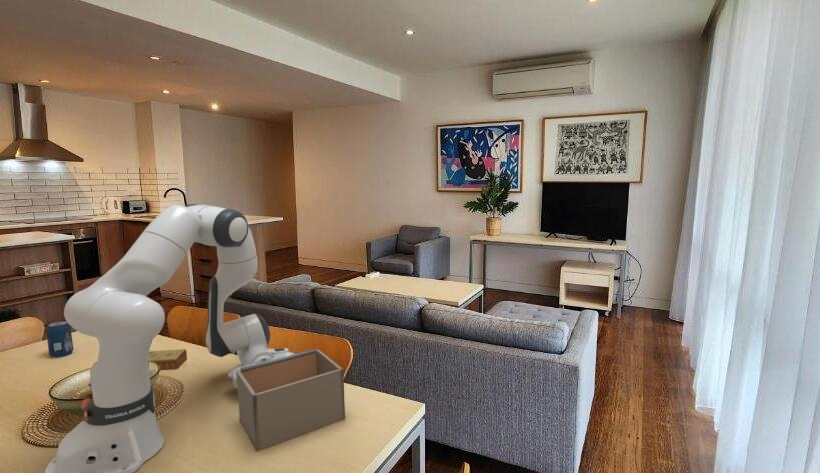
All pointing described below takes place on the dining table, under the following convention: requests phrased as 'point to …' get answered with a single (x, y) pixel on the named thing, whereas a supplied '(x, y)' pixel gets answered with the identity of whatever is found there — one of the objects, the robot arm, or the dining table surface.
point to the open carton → (292, 405)
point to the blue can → (59, 339)
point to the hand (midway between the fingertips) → (275, 380)
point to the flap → (281, 371)
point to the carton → (168, 358)
